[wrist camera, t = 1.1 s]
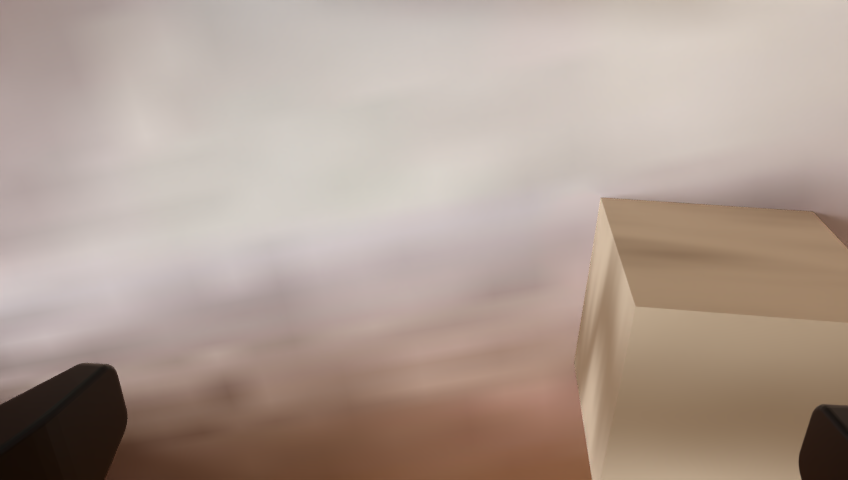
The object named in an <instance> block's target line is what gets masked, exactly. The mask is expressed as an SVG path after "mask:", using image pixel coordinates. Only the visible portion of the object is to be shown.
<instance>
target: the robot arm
mask: <svg viewBox="0 0 848 480" xmlns="http://www.w3.org/2000/svg"><path fill="white" fill-rule="evenodd" d="M126 425H127V409H126V405H125V401H124V397H123V394H122V390H121V386H120V382H119V378H118V375H117V372H116V370H115V369H114V367H113V366H111V365H109V364H98V363H81V364H78V365H76V366H74V367H72V368H70V369H68V370H66V371H64V372H62V373H61V374H59V375H57V376H55V377H53V378H51V379H49V380H47V381H45V382H43V383H41V384H39V385H37V386H36V387H34V388H32V389H30V390H28V391H26V392H24V393H22V394H20V395H18V396H16V397H14V398H12V399H11V400H9V401H7V402H5V403H3V404H1V405H0V480H105V478H106V475H107V473H108V470H109V468H110V465H111V463H112V461H113V458H114V456H115V453H116V451H117V449H118V446H119V444H120V441H121V439H122V437H123V434H124V432H125V429H126ZM798 462H799V472H800V476H801V480H848V405H833V404H821V405H818V406H817V407H816V408H815V409H814V410H813V412H812V415H811V418H810V421H809V424H808V427H807V430H806V433H805V437H804V440H803V443H802V446H801V449H800V453H799V460H798Z"/></svg>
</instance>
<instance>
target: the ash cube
mask: <svg viewBox="0 0 848 480" xmlns="http://www.w3.org/2000/svg"><path fill="white" fill-rule="evenodd" d="M574 365H575V372H576V378H577V385H578V391H579V398H580V404H581V411H582V417H583V424H584V430H585V437H586V443H587V450H588V456H589V463H590V469H591V476H592V480H801V476H800V472H799V462H798V460H799V453H800V449H801V446H802V443H803V440H804V437H805V433H806V430H807V427H808V424H809V421H810V418H811V415H812V412H813V410H814V409H815V408H816V407H817V406H818V405H821V404H833V405H848V248H847V247H846V246H845V245H844V244H843V243H842V242H841V241H840V240H839V239H838V238H837V237H836V236H835V234H834V233H833V232H832V231H831V230H830V229H829V228H828V227H827V226H826V225H825V224H824V223H823V222H822V221H821V220H820V219H819V218H818V217H817V216H816V215H815V213H814V212H811V211H796V210H781V209H766V208H750V207H735V206H720V205H705V204H690V203H675V202H660V201H644V200H629V199H614V198H601V199H600V205H599V211H598V218H597V224H596V230H595V236H594V242H593V249H592V255H591V261H590V267H589V274H588V280H587V286H586V292H585V298H584V305H583V311H582V317H581V323H580V329H579V336H578V342H577V348H576V354H575V361H574Z"/></svg>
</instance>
